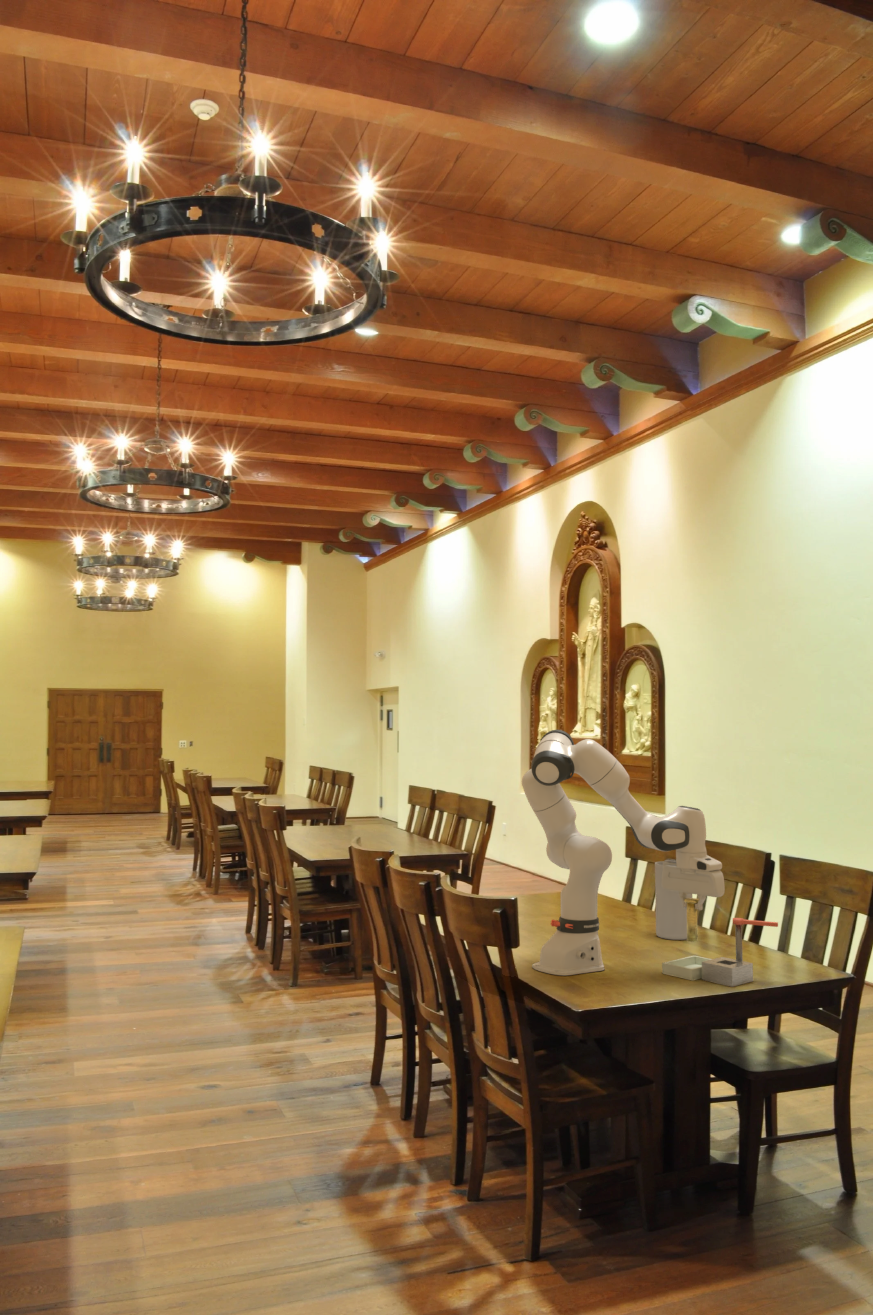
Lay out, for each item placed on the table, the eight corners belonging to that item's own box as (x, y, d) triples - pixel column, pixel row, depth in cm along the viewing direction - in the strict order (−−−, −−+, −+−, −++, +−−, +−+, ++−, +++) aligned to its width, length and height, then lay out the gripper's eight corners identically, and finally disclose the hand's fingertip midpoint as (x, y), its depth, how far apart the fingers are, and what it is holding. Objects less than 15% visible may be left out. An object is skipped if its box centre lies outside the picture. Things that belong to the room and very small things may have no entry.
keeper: (731, 924, 279) (731, 919, 279) (733, 922, 282) (733, 917, 282) (776, 928, 274) (776, 923, 274) (778, 926, 277) (778, 921, 277)
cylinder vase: (690, 933, 341) (688, 861, 343) (696, 941, 329) (694, 866, 331) (653, 932, 342) (652, 861, 344) (658, 940, 330) (657, 865, 332)
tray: (692, 980, 275) (692, 969, 275) (662, 973, 283) (662, 963, 283) (724, 972, 285) (724, 961, 285) (694, 965, 293) (694, 955, 293)
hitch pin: (692, 942, 281) (692, 900, 283) (681, 940, 285) (681, 898, 286) (702, 941, 284) (703, 899, 285) (691, 939, 287) (691, 897, 289)
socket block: (732, 987, 268) (731, 932, 269) (702, 980, 276) (701, 927, 277) (758, 980, 276) (756, 927, 277) (727, 973, 284) (726, 921, 285)
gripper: (656, 859, 293) (657, 905, 292) (714, 865, 277) (715, 915, 276) (669, 857, 297) (670, 903, 296) (727, 863, 281) (728, 912, 280)
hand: (692, 909), depth 285 cm, fingers closed on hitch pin, 3 cm apart
